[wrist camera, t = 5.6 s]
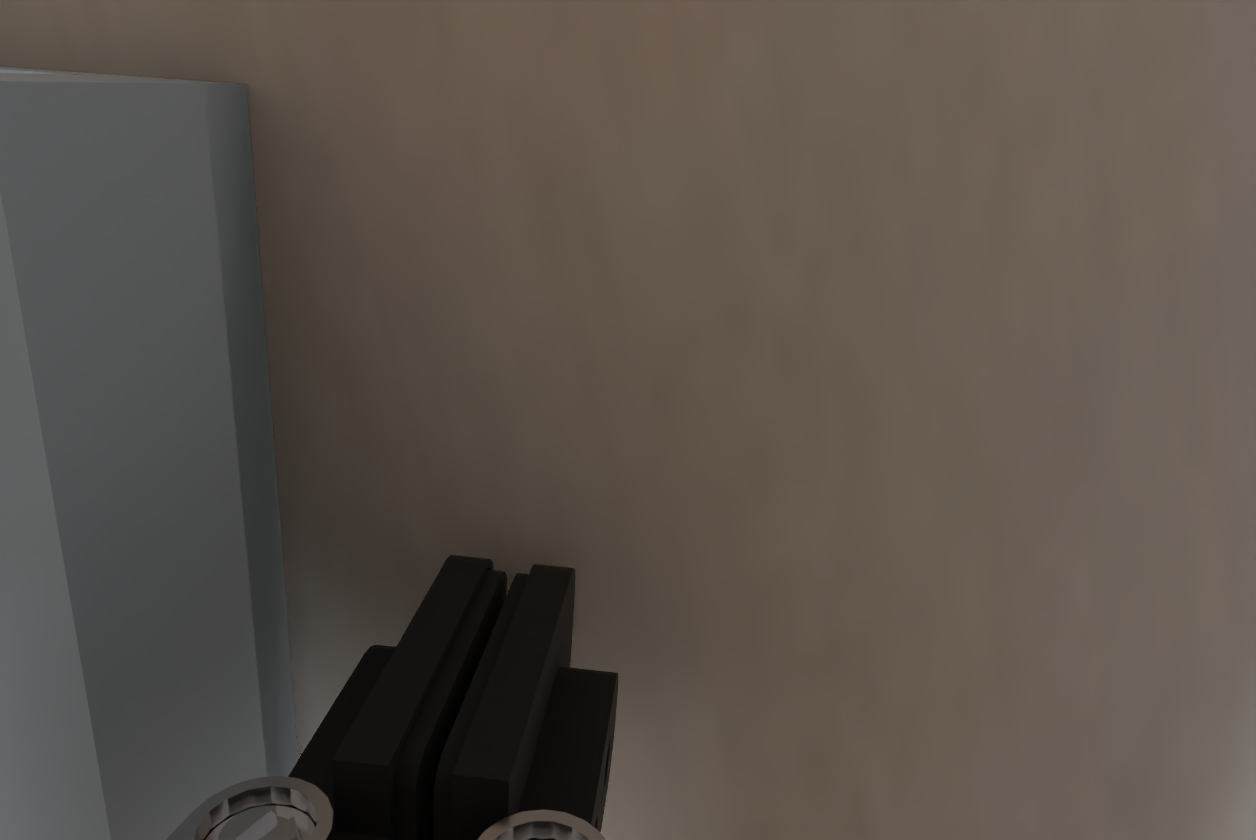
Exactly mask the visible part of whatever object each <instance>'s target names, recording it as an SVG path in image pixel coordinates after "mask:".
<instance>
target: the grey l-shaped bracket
mask: <svg viewBox="0 0 1256 840" xmlns="http://www.w3.org/2000/svg"><path fill="white" fill-rule="evenodd" d="M297 761H298V750H297V736H296V723H295V710H294V697H293V684H292V671H291V658H290V645H289V631H288V618H287V605H286V592H285V579H284V566H283V553H282V540H281V526H280V513H279V500H278V487H277V474H276V461H275V448H274V435H273V421H272V408H271V395H270V382H269V369H268V356H267V343H266V330H265V316H264V303H263V290H262V277H261V264H260V251H259V238H258V225H257V211H256V198H255V185H254V172H253V159H252V146H251V133H250V120H249V106H248V93H247V84H240V83H225V82H211V81H197V80H183V79H169V78H155V77H141V76H127V75H112V74H98V73H84V72H70V71H56V70H42V69H28V68H14V67H0V840H166V839H167V838H168V837H169V836H170V835H171V834H172V833H173V832H174V831H175V830H176V829H177V827H178V826H179V825H180V824H181V823H182V822H183V821H184V820H185V819H186V818H187V817H188V816H189V815H190V814H191V813H192V812H193V811H194V810H195V809H196V808H197V807H198V806H200V805H201V804H202V803H203V802H204V801H206V800H207V799H208V798H209V797H210V796H212V795H214V794H216V793H218V792H220V791H222V790H224V789H225V788H227V787H229V786H231V785H234V784H237V783H240V782H244V781H247V780H250V779H254V778H261V777H271V776H284V777H288V776H289V774H290V773H291V771H292V769H293V768H294V766H295V765H296V763H297Z"/></svg>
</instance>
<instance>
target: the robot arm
mask: <svg viewBox="0 0 1256 840" xmlns="http://www.w3.org/2000/svg"><path fill="white" fill-rule="evenodd" d="M506 588H507V577H506V573H505V572H503V571H494V570H493V562H492V560H491V559H483V558H474V557H465V556H456V555H450V556H449V557H448V558H447V560H446V561H445V563H444V565H443V567H442V568H441V570H440V572H439V574H438V575H437V577H436V579H435V581H434V582H433V584H432V586H431V588H430V589H429V591H428V593H427V595H426V596H425V598H424V600H423V602H422V603H421V605H420V607H419V608H418V610H417V612H416V614H415V615H414V617H413V619H412V621H411V622H410V624H409V626H408V628H407V629H406V631H405V633H404V635H403V636H402V638H401V640H400V642H399V643H398V645H397V647H390V646H381V645H374V646H371V647H370V648H369V649H368V650H367V651H366V653H365V654H364V656H363V657H362V659H361V660H360V662H359V664H358V665H357V667H356V668H355V670H354V672H353V673H352V675H351V676H350V678H349V680H348V681H347V683H346V684H345V686H344V688H343V689H342V691H341V692H340V694H339V696H338V697H337V699H336V700H335V702H334V704H333V705H332V707H331V708H330V710H329V712H328V713H327V715H326V716H325V718H324V720H323V721H322V723H321V724H320V726H319V728H318V729H317V731H316V733H315V734H314V736H313V737H312V739H311V741H310V742H309V744H308V745H307V747H306V749H305V750H304V752H303V753H302V755H301V757H300V758H299V760H298V761H297V763H296V765H295V766H294V768H293V769H292V771H291V773H290V774H289V776H288V777H284V776H271V777H261V778H254V779H250V780H247V781H244V782H240V783H237V784H234V785H231V786H229V787H227V788H225V789H224V790H222V791H220V792H218V793H216V794H214V795H212V796H210V797H209V798H208V799H207V800H206V801H204V802H203V803H202V804H201V805H200V806H198V807H197V808H196V809H195V810H194V811H193V812H192V813H191V814H190V815H189V816H188V817H187V818H186V819H185V820H184V821H183V822H182V823H181V824H180V825H179V826H178V827H177V829H176V830H175V831H174V832H173V833H172V834H171V835H170V836H169V837H168V838H167V839H166V840H605V838H604V837H603V835H602V834H601V827H602V820H603V814H604V807H605V801H606V795H607V788H608V781H609V773H610V766H611V757H612V749H613V739H614V729H615V717H616V705H617V692H618V673H612V672H604V671H595V670H587V669H578V668H570V661H571V644H572V627H573V610H574V593H575V569H574V568H565V567H556V566H547V565H538V564H534V565H533V567H532V569H531V571H530V574H521V573H517V574H516V575H515V578H514V580H513V582H512V585H511V587H510V590H509V592H508V594H507V597H506Z"/></svg>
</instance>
